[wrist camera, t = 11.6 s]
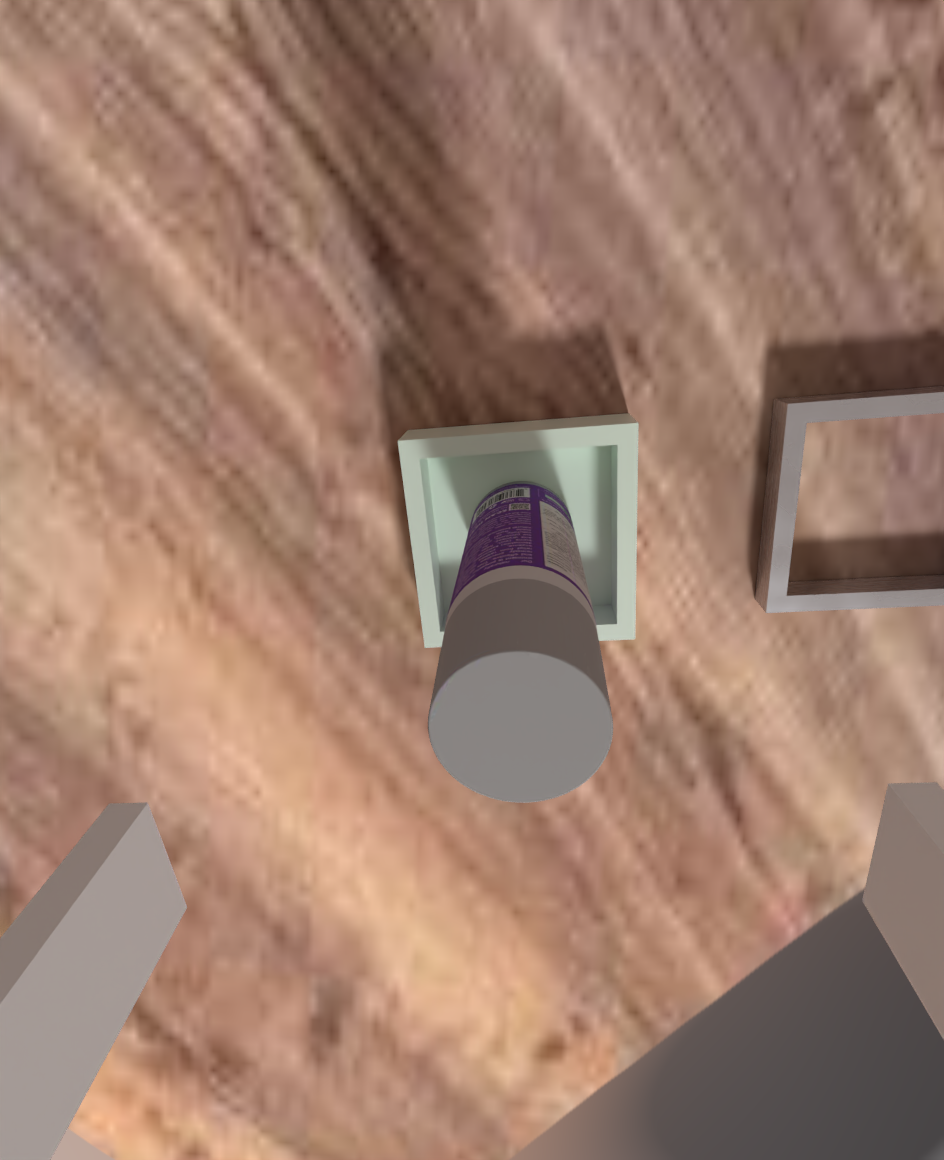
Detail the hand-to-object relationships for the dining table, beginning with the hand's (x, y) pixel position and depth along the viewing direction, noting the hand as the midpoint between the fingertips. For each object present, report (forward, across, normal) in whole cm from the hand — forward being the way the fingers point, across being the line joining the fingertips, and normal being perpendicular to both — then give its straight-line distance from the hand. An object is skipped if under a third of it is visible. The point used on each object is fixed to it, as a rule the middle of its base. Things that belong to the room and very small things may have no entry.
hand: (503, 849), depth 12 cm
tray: (+19, +1, 0) cm, 19 cm away
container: (+19, 0, 0) cm, 19 cm away
